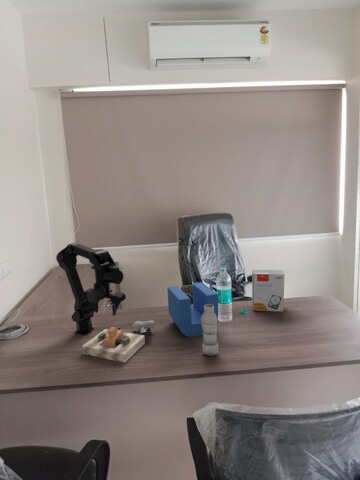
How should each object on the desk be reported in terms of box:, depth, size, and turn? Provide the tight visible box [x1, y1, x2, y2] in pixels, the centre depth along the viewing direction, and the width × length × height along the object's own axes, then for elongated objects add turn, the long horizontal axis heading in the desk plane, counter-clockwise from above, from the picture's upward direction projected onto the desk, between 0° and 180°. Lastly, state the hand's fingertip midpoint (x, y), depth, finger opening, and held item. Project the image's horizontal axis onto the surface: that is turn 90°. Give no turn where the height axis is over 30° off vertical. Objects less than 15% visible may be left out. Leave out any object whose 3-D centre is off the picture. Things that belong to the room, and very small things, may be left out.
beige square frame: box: [81, 328, 146, 363], centre depth 140 cm, size 20×16×5 cm
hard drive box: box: [251, 269, 285, 313], centre depth 172 cm, size 16×8×20 cm, turn 81°
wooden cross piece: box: [104, 326, 124, 349], centre depth 139 cm, size 4×8×8 cm, turn 157°
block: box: [167, 281, 219, 338], centre depth 155 cm, size 18×18×18 cm
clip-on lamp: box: [117, 320, 156, 339], centre depth 151 cm, size 12×6×18 cm
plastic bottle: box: [201, 304, 220, 357], centre depth 131 cm, size 6×7×20 cm
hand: (105, 314), depth 145 cm, fingers open, 9 cm apart
